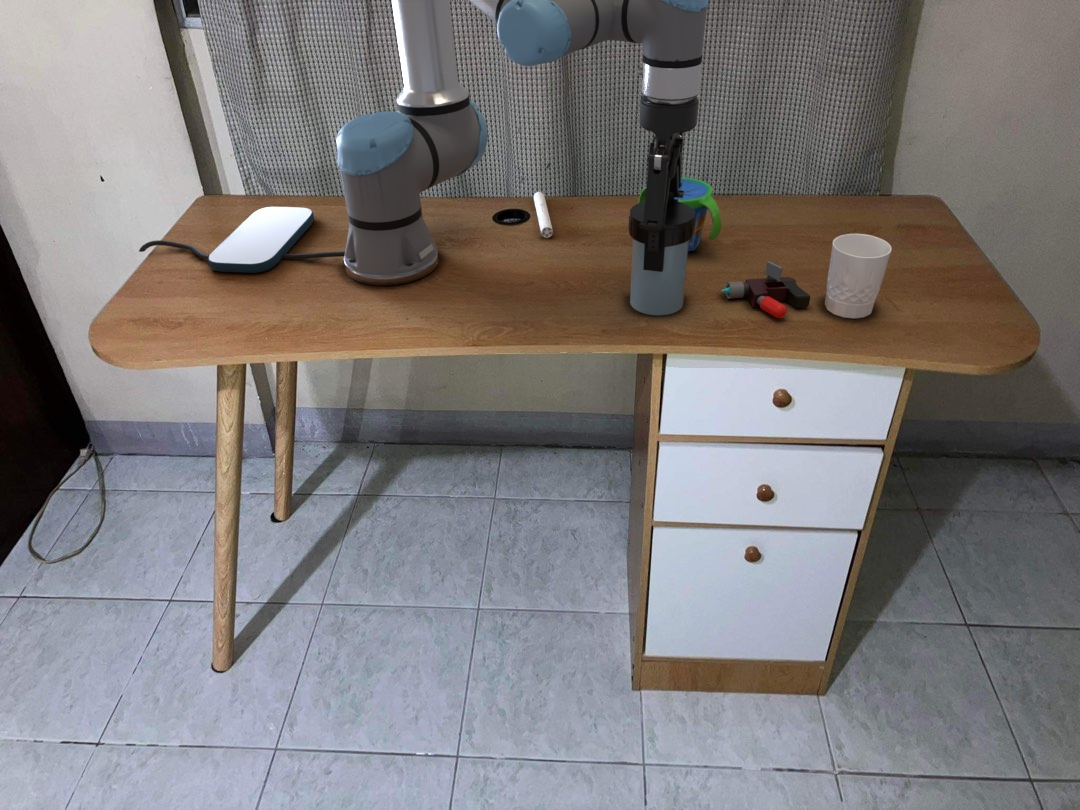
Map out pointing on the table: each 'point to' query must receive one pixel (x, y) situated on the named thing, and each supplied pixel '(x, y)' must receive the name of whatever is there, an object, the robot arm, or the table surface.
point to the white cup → (855, 274)
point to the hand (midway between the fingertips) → (659, 254)
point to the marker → (543, 215)
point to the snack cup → (697, 207)
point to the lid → (676, 223)
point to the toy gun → (770, 291)
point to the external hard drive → (261, 240)
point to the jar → (658, 281)
